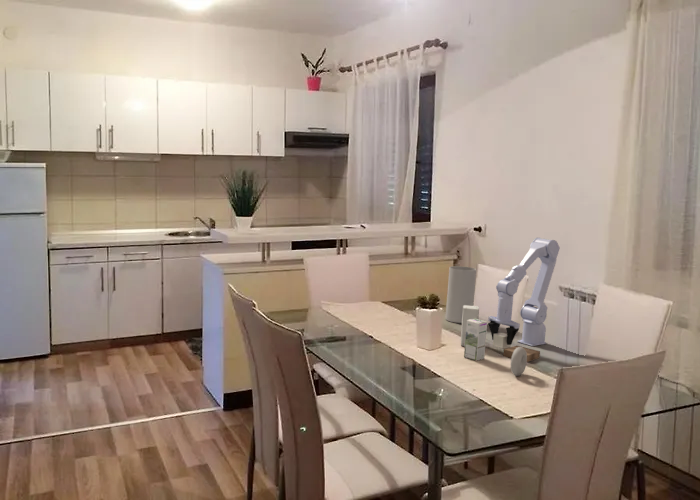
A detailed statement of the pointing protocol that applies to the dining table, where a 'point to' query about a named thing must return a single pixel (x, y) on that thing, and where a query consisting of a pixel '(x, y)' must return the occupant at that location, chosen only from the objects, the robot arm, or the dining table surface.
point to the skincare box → (468, 313)
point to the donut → (518, 361)
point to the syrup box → (475, 339)
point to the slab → (530, 352)
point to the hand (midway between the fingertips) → (501, 342)
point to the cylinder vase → (459, 291)
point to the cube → (500, 340)
